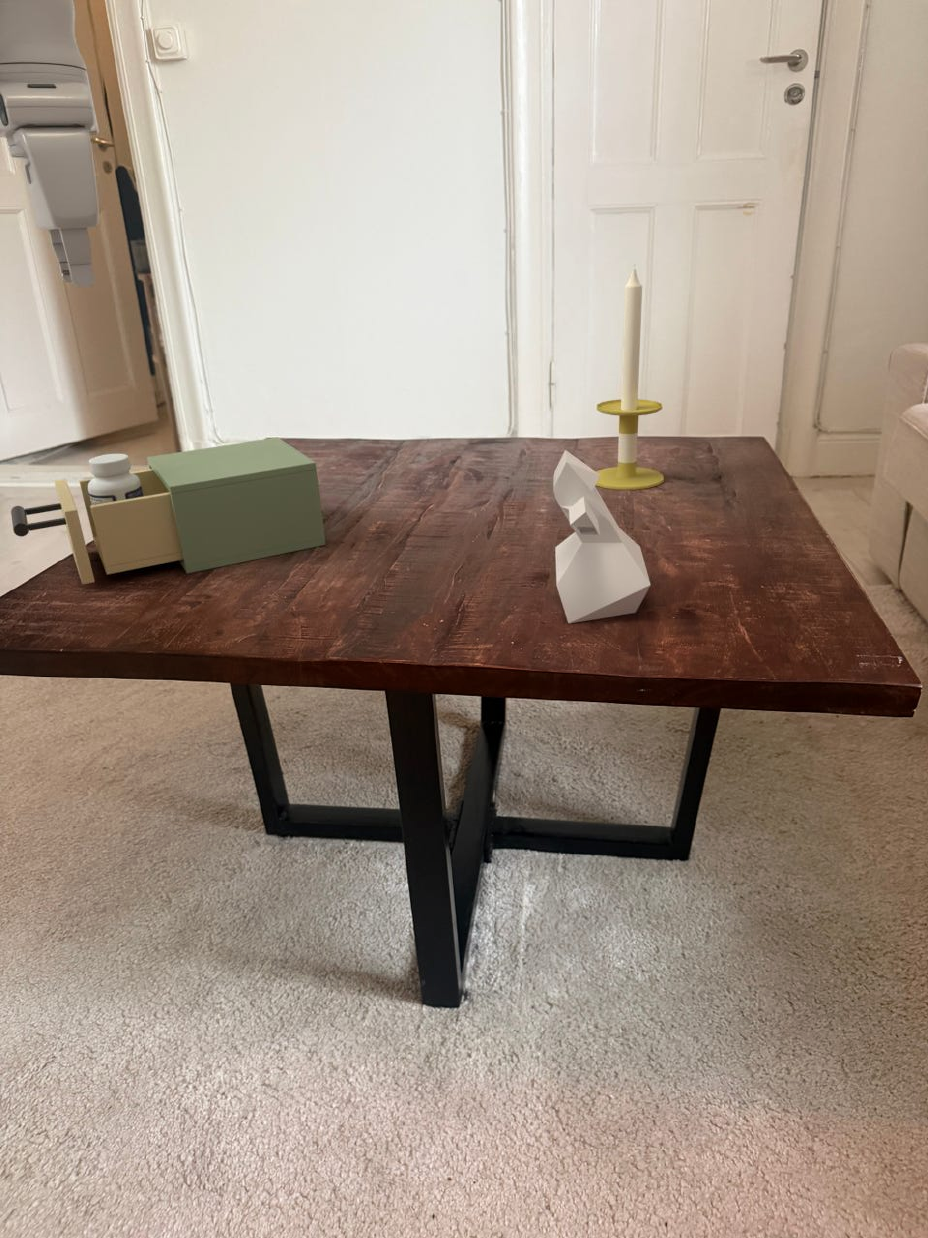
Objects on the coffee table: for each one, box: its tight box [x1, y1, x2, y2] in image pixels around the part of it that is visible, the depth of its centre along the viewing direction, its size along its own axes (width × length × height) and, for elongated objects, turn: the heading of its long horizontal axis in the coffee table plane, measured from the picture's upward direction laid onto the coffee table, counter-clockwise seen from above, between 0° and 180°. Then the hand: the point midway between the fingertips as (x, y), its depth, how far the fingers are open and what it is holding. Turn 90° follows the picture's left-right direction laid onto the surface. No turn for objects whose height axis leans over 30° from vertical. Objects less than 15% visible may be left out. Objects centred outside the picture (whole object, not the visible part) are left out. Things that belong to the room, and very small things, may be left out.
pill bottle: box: [88, 453, 144, 505], centre depth 93 cm, size 5×5×10 cm
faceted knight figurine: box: [552, 449, 651, 624], centre depth 79 cm, size 8×14×14 cm, turn 175°
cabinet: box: [146, 437, 326, 574], centre depth 99 cm, size 16×15×10 cm
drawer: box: [10, 468, 183, 585], centre depth 94 cm, size 19×13×8 cm
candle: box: [595, 263, 665, 491], centre depth 111 cm, size 10×10×27 cm
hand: (78, 283), depth 80 cm, fingers open, 8 cm apart
